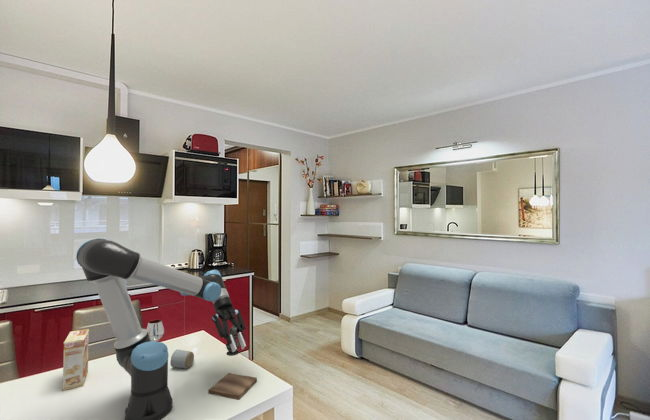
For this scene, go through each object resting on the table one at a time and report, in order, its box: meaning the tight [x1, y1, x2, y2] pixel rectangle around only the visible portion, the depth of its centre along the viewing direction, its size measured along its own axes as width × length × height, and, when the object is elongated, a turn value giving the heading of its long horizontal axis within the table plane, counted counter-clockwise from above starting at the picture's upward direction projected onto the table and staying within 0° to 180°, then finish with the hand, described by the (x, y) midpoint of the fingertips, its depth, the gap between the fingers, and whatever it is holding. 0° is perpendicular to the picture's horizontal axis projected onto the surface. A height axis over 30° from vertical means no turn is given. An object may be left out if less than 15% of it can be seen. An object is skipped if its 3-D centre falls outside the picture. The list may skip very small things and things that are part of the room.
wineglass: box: [145, 319, 165, 342], centre depth 156 cm, size 8×8×18 cm
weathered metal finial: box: [225, 324, 241, 357], centre depth 134 cm, size 6×6×12 cm
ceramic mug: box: [169, 349, 195, 369], centre depth 149 cm, size 11×8×8 cm
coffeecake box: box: [62, 328, 90, 392], centre depth 135 cm, size 15×7×20 cm, turn 31°
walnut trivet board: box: [207, 372, 258, 400], centre depth 130 cm, size 14×14×2 cm
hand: (239, 348), depth 130 cm, fingers closed on weathered metal finial, 4 cm apart
